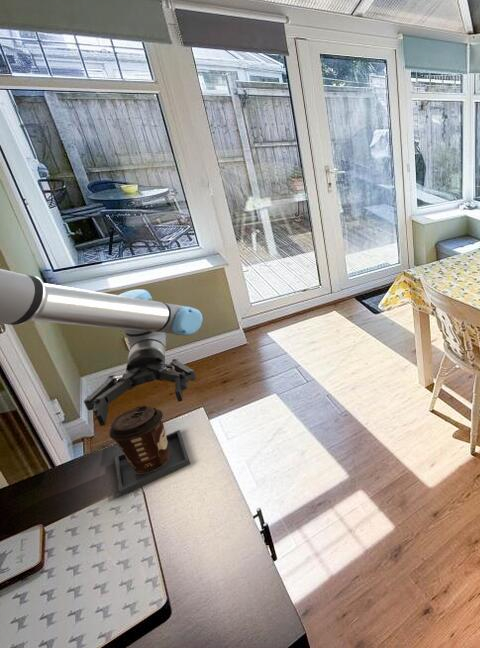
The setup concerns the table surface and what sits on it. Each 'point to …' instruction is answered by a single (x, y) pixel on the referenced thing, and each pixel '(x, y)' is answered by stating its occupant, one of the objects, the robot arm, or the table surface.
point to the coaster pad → (134, 481)
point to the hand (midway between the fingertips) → (141, 408)
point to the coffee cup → (141, 438)
